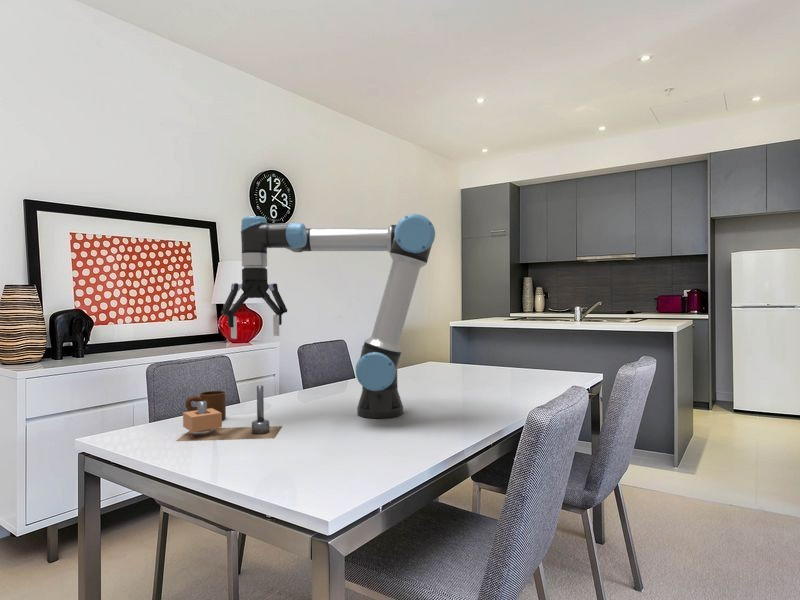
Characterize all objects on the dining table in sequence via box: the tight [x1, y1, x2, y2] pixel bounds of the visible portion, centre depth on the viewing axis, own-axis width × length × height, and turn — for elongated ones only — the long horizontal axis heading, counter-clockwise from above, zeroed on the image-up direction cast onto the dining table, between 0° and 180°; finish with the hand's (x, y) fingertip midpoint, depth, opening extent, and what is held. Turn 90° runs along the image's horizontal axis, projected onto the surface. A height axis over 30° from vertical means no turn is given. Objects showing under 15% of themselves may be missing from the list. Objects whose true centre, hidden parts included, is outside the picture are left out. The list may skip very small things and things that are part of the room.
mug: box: [184, 390, 227, 422], centre depth 160 cm, size 12×8×9 cm, turn 130°
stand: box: [251, 385, 271, 435], centre depth 146 cm, size 5×5×13 cm
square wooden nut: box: [182, 408, 223, 432], centre depth 145 cm, size 8×8×4 cm
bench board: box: [175, 425, 283, 442], centre depth 145 cm, size 26×13×1 cm, turn 93°
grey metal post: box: [192, 401, 213, 437], centre depth 145 cm, size 6×6×9 cm
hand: (255, 337), depth 159 cm, fingers open, 13 cm apart
